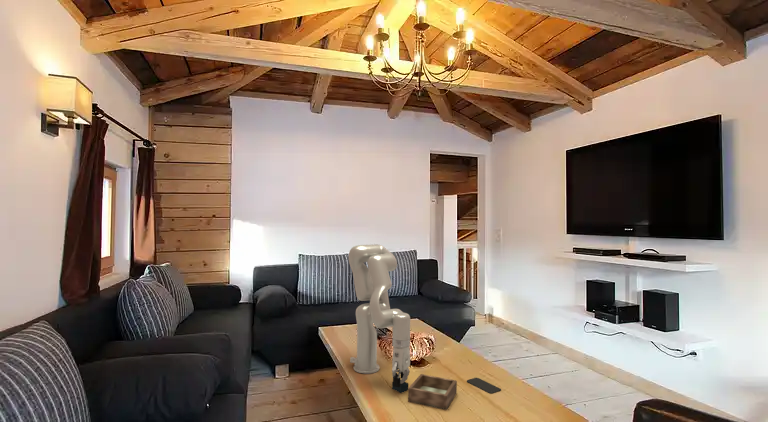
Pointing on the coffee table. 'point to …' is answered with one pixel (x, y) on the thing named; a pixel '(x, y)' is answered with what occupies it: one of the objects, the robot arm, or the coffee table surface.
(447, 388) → the box
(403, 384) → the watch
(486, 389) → the phone
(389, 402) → the coffee table surface
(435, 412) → the coffee table surface
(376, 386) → the coffee table surface
